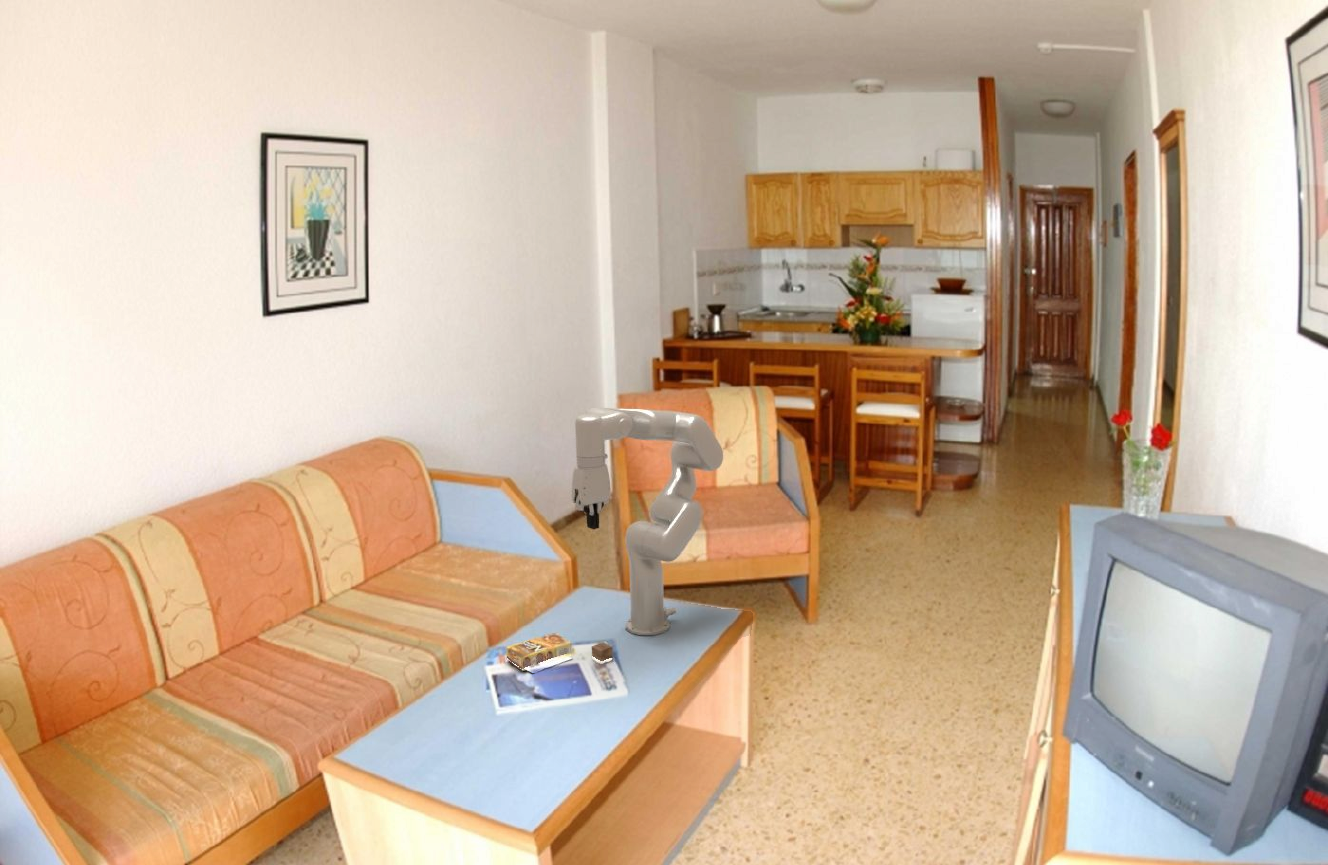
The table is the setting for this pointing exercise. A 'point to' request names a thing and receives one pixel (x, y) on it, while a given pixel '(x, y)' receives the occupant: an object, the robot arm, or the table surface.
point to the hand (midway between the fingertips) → (593, 527)
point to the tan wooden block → (602, 651)
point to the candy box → (538, 650)
